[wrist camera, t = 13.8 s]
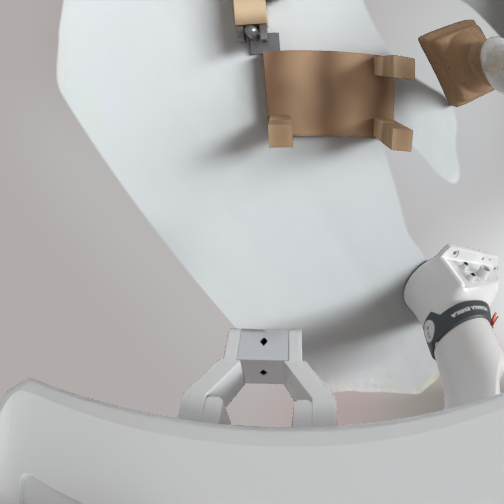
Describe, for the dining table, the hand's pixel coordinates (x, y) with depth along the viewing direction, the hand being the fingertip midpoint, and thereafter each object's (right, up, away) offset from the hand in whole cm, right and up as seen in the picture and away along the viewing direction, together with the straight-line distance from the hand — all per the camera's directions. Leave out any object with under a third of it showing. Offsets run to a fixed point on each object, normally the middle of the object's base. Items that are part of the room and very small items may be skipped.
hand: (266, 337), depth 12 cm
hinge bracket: (+1, +30, +17) cm, 34 cm away
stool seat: (+9, +24, +20) cm, 33 cm away
